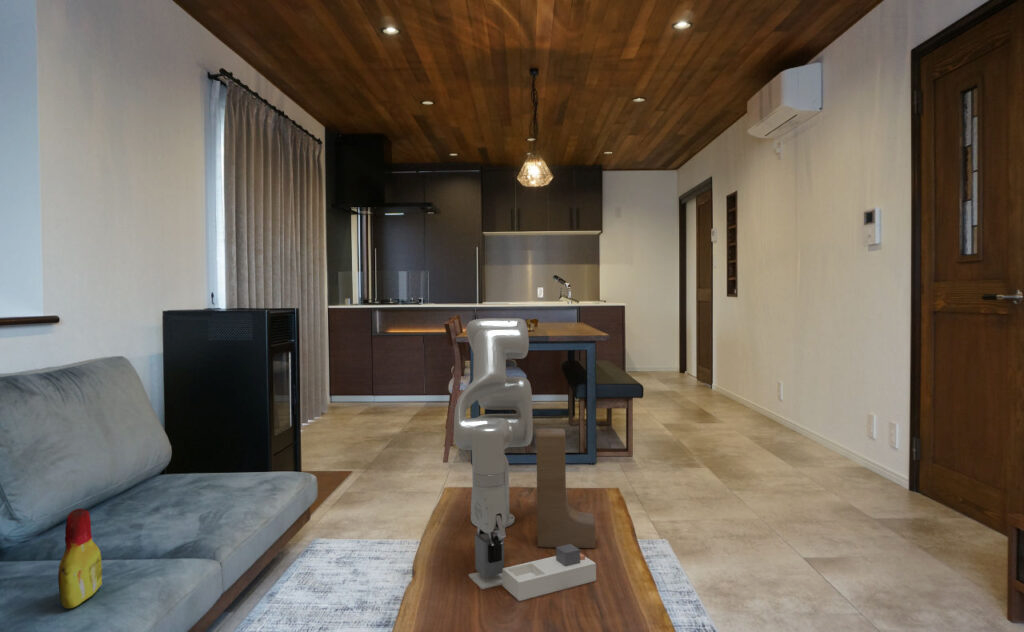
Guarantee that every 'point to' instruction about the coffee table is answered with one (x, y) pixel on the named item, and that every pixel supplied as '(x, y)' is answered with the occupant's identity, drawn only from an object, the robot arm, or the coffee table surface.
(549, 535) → the decorative block
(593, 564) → the power strip
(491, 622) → the coffee table surface
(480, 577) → the felt pad
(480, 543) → the block
